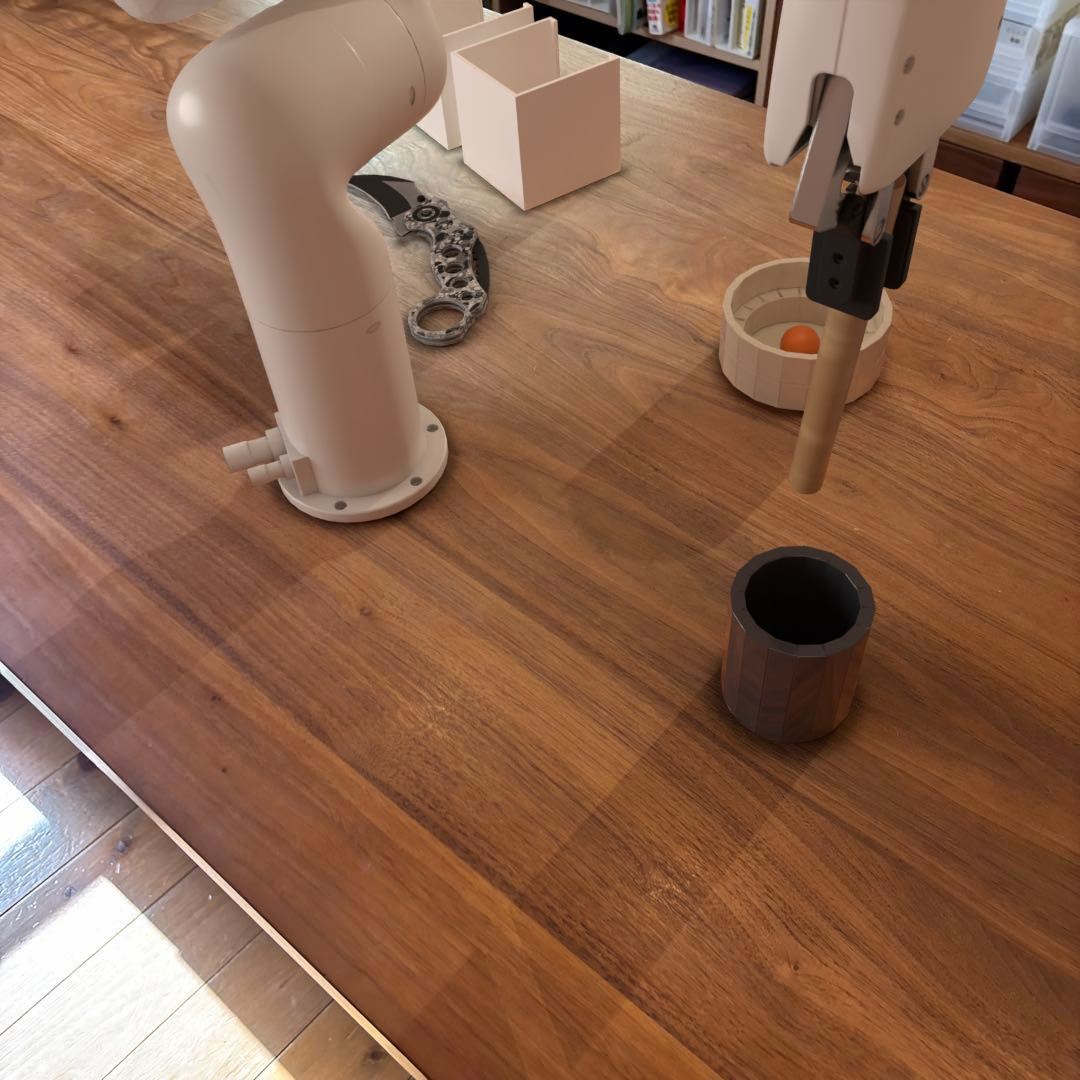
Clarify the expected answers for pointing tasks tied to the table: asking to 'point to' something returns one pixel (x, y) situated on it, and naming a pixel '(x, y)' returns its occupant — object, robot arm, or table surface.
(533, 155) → the open boxes
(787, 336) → the bead
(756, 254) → the table surface
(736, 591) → the utensil pot
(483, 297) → the knife
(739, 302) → the bowl
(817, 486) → the stirring stick
